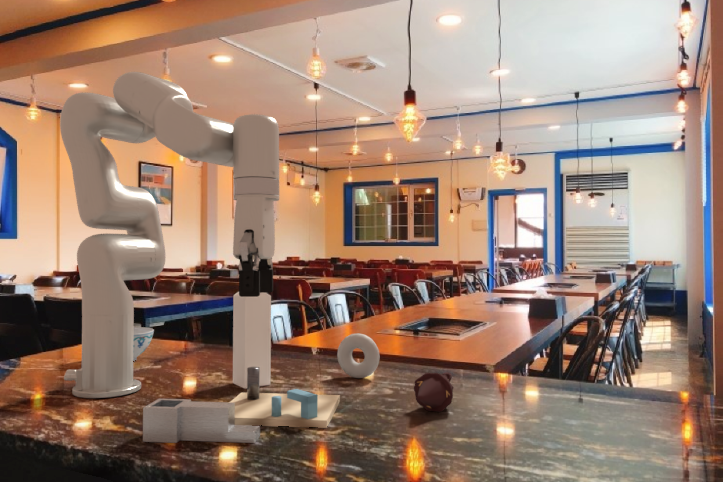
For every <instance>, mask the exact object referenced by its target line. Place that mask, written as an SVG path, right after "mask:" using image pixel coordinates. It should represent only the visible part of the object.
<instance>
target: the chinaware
mask: <svg viewBox="0 0 723 482" xmlns="http://www.w3.org/2000/svg"><path fill="white" fill-rule="evenodd" d="M154 332H155V329H153V327H144V326H143V327H142V326H141V327H140V326H134V337H133V361H134V362H136V361H137V357H139V356H140V355H142V353H144V352H145V351H146V350H147V349H148V347H149V346H150V343H151V342H152V339H153V336H154ZM135 360H136V361H135Z"/></svg>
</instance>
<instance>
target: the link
mask: <svg viewBox="0 0 723 482" xmlns="http://www.w3.org/2000/svg"><path fill="white" fill-rule="evenodd" d="M229 402H230V401H229ZM229 402H226V401H225V402H223V401H195V400H194V401H192V399H191V398H190V399H186V398H157V399H155V400H154V401H153V402H151V403H149V404H147V405H146V406H144V407H142V408H143V409H142V410H143V411H142V442H144V443H145V442H146V443H148V442H149V443H171V444H172V443H174V444H177V443H178V442H180V441H187V442H188V441H190V442H214V443H215V442H221V443H222V442H223V443H247V444H250V443H251V444H255V443H256V442H257V441H258V440H259V439H260V437H261V426H252V425H235V403H229Z"/></svg>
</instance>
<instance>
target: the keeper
mask: <svg viewBox="0 0 723 482" xmlns="http://www.w3.org/2000/svg"><path fill="white" fill-rule="evenodd" d="M286 394H287V398H289V399H292V400H295V401H299V402H301V417H302V418H305V419H311V418H315V417H317V401H318V395H319V394H316V393H313V392H309V391H306V390H302V389H298V388H293V389H291V390H290V389H289V390H287V391H286ZM271 416H272V417H279V416H281V396H273V397H272V415H271Z"/></svg>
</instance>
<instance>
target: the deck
mask: <svg viewBox="0 0 723 482" xmlns="http://www.w3.org/2000/svg"><path fill="white" fill-rule="evenodd" d="M317 395H318V401H317V417H315V418H311V419H305V418H302V417H301V402H299V401H295V400H292V399H289V398H287V393H275V392H273V393H270V392H267V393H265V392H259V399H257V400H248V399H247V392H240V393H239V394H238V395H237V396H235V397H234V398H233V399H232V400H230V401H229V403H235V425H260V427H278V426H289V428H309V427H318V428H317V429H327V428H328V427H329V424H330V422H331V421H332V419H333V416H334V414H335V412H336V410H337V408H338V406H339V405H340V402H341V395H340V394H339V395H338V394H317ZM273 396H281V416H279V417H272V416H271V415H272V397H273ZM261 425H262V426H261ZM327 426H328V427H327Z"/></svg>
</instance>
